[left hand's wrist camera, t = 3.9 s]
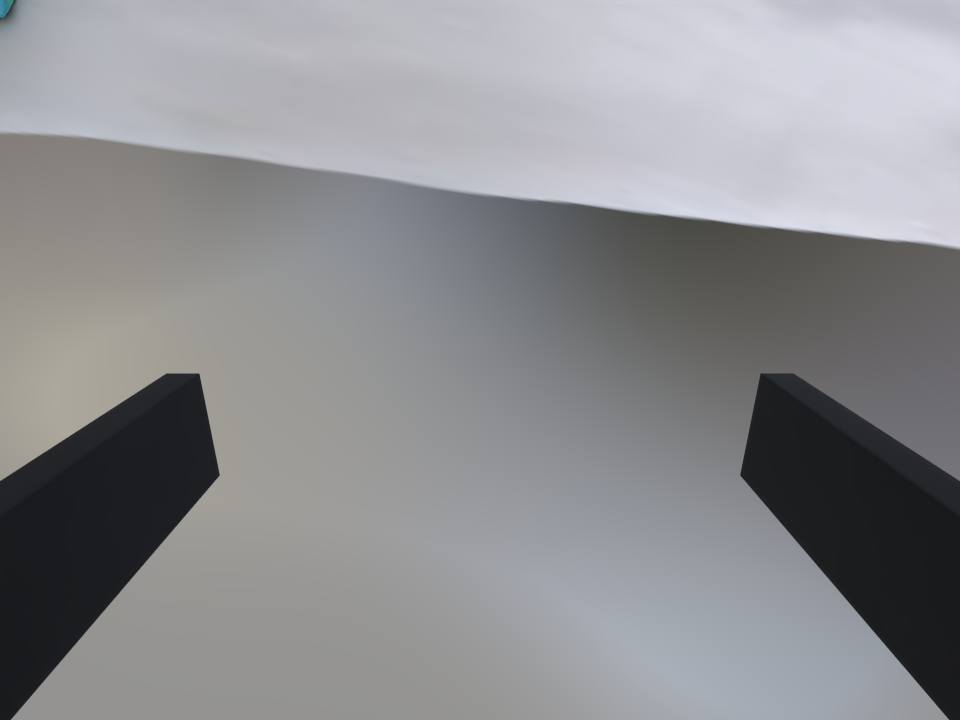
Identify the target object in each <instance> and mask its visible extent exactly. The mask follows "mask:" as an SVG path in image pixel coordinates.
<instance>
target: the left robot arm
mask: <svg viewBox="0 0 960 720" xmlns="http://www.w3.org/2000/svg"><path fill="white" fill-rule="evenodd" d="M219 475H220V474H219V469H218V464H217V459H216V455H215V449H214V445H213V439H212V435H211V429H210V425H209V419H208V415H207V410H206V405H205V400H204V395H203V390H202V385H201V380H200V375H199V374H165V375H164V376H162V377H161V378H159V379H157V380H156V381H154V382H153V383H151V384H150V385H148V386H147V387H145V388H144V389H142V390H140V391H139V392H137V393H136V394H134V395H133V396H131V397H130V398H128V399H127V400H125V401H123V402H122V403H120V404H119V405H117V406H116V407H114V408H113V409H111V410H110V411H108V412H106V413H105V414H103V415H102V416H100V417H99V418H97V419H96V420H94V421H93V422H91V423H89V424H88V425H86V426H85V427H83V428H82V429H80V430H79V431H77V432H75V433H74V434H72V435H71V436H69V437H68V438H66V439H65V440H63V441H62V442H60V443H59V444H57V445H55V446H54V447H52V448H51V449H49V450H48V451H46V452H45V453H43V454H41V455H40V456H38V457H37V458H35V459H34V460H32V461H31V462H29V463H28V464H26V465H24V466H23V467H21V468H20V469H18V470H17V471H15V472H14V473H12V474H11V475H9V476H8V477H6V478H4V479H3V480H1V481H0V720H11V719H12V718H13V716H14V715H15V714H16V713H17V712H18V711H19V709H20V708H21V707H22V706H23V705H24V704H25V702H26V701H27V700H28V699H29V698H30V697H31V695H32V694H33V693H34V692H35V691H36V690H37V688H38V687H39V686H40V685H41V684H42V683H43V681H44V680H45V679H46V678H47V677H48V676H49V674H50V673H51V672H52V671H53V670H54V668H55V667H56V666H57V665H58V664H59V663H60V662H61V660H62V659H63V658H64V657H65V656H66V655H67V653H68V652H69V651H70V650H71V649H72V647H73V646H74V645H75V644H76V643H77V642H78V640H79V639H80V638H81V637H82V636H83V635H84V633H85V632H86V631H87V630H88V629H89V628H90V626H91V625H92V624H93V623H94V622H95V621H96V619H97V618H98V617H99V616H100V615H101V614H102V612H103V611H104V610H105V609H106V608H107V607H108V605H109V604H110V603H111V602H112V601H113V599H114V598H115V597H116V596H117V595H118V594H119V593H120V591H121V590H122V589H123V588H124V587H125V585H126V584H127V583H128V582H129V581H130V580H131V578H132V577H133V576H134V575H135V574H136V573H137V571H138V570H139V569H140V568H141V567H142V566H143V564H144V563H145V562H146V561H147V560H148V559H149V557H150V556H151V555H152V554H153V553H154V552H155V550H156V549H157V548H158V547H159V546H160V544H161V543H162V542H163V541H164V540H165V539H166V538H167V536H168V535H169V534H170V533H171V532H172V530H173V529H174V528H175V527H176V526H177V525H178V523H179V522H180V521H181V520H182V519H183V518H184V516H185V515H186V514H187V513H188V512H189V511H190V509H191V508H192V507H193V506H194V505H195V504H196V502H197V501H198V500H199V499H200V498H201V497H202V495H203V494H204V493H205V492H206V491H207V490H208V488H209V487H210V486H211V485H212V484H213V483H214V481H215V480H216V479H217V478H218V477H219ZM740 475H741V477H742V478H743V479H744V480H745V481H746V483H747V484H748V485H749V486H750V487H751V488H752V490H753V491H754V492H755V493H756V494H757V495H758V497H759V498H760V499H761V500H762V501H763V502H764V504H765V505H766V506H767V507H768V508H769V509H770V511H771V512H772V513H773V514H774V515H775V516H776V518H777V519H778V520H779V521H780V522H781V523H782V525H783V526H784V527H785V528H786V529H787V531H788V532H789V533H790V534H791V535H792V536H793V538H794V539H795V540H796V541H797V542H798V543H799V545H800V546H801V547H802V548H803V549H804V550H805V552H806V553H807V554H808V555H809V556H810V557H811V559H812V560H813V561H814V562H815V563H816V564H817V566H818V567H819V568H820V569H821V570H822V571H823V573H824V574H825V575H826V576H827V577H828V578H829V580H830V581H831V582H832V583H833V584H834V585H835V587H836V588H837V589H838V590H839V591H840V592H841V594H842V595H843V596H844V597H845V598H846V600H847V601H848V602H849V603H850V604H851V605H852V607H853V608H854V609H855V610H856V611H857V612H858V614H859V615H860V616H861V617H862V618H863V619H864V621H865V622H866V623H867V624H868V625H869V626H870V628H871V629H872V630H873V631H874V632H875V633H876V635H877V636H878V637H879V638H880V639H881V640H882V642H883V643H884V644H885V645H886V646H887V647H888V649H889V650H890V651H891V652H892V653H893V655H894V656H895V657H896V658H897V659H898V660H899V662H900V663H901V664H902V665H903V666H904V667H905V668H906V670H907V671H908V672H909V673H910V674H911V676H912V677H913V678H914V679H915V680H916V681H917V683H918V684H919V685H920V686H921V687H922V688H923V690H924V691H925V692H926V693H927V694H928V695H929V697H930V698H931V699H932V700H933V701H934V702H935V704H936V705H937V706H938V707H939V708H940V709H941V711H942V712H943V713H944V714H945V715H946V716H947V718H948V719H949V720H960V481H959V480H957V479H956V478H954V477H952V476H951V475H949V474H948V473H946V472H945V471H943V470H942V469H940V468H939V467H937V466H936V465H934V464H932V463H931V462H929V461H928V460H926V459H925V458H923V457H922V456H920V455H919V454H917V453H915V452H914V451H912V450H911V449H909V448H908V447H906V446H905V445H903V444H902V443H900V442H898V441H897V440H895V439H894V438H892V437H891V436H889V435H888V434H886V433H884V432H883V431H881V430H880V429H878V428H877V427H875V426H874V425H872V424H871V423H869V422H867V421H866V420H864V419H863V418H861V417H860V416H858V415H857V414H855V413H854V412H852V411H851V410H849V409H847V408H846V407H844V406H843V405H841V404H840V403H838V402H837V401H835V400H834V399H832V398H830V397H829V396H827V395H826V394H824V393H823V392H821V391H820V390H818V389H817V388H815V387H813V386H812V385H810V384H809V383H807V382H806V381H804V380H803V379H801V378H799V377H798V376H796V375H795V374H761V375H760V380H759V385H758V390H757V395H756V400H755V405H754V410H753V414H752V419H751V424H750V429H749V435H748V439H747V444H746V449H745V454H744V459H743V464H742V469H741V474H740Z"/></svg>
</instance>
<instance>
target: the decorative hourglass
mask: <svg viewBox="0 0 960 720" xmlns="http://www.w3.org/2000/svg"><path fill="white" fill-rule="evenodd" d="M13 1H14V0H0V18H4V17H5V15H6V14H7V13H8V12H9V10H10V8H11V5H12V3H13Z"/></svg>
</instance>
